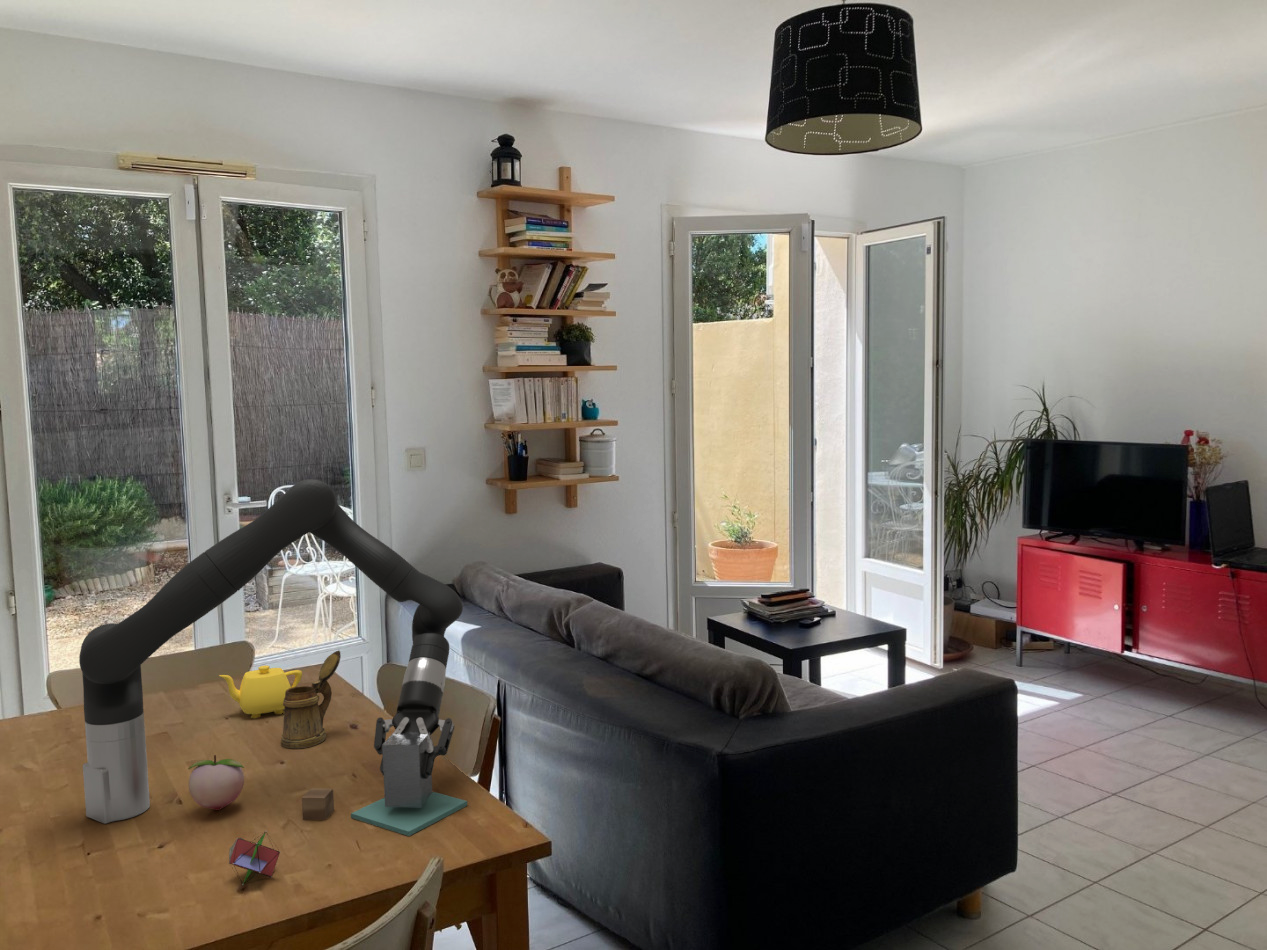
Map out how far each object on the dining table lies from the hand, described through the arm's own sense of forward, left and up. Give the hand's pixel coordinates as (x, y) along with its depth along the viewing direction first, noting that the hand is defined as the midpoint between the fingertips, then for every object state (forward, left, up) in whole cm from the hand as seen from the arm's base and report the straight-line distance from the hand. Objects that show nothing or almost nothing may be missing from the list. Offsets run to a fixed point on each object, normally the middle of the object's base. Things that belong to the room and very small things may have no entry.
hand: (405, 776), depth 171 cm
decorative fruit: (-16, +31, -7) cm, 35 cm away
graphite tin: (+1, +1, -5) cm, 5 cm away
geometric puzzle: (-28, +4, -7) cm, 29 cm away
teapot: (+23, +71, -7) cm, 75 cm away
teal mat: (+1, +1, -7) cm, 7 cm away
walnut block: (-8, +14, -7) cm, 17 cm away
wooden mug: (+17, +46, -7) cm, 50 cm away
